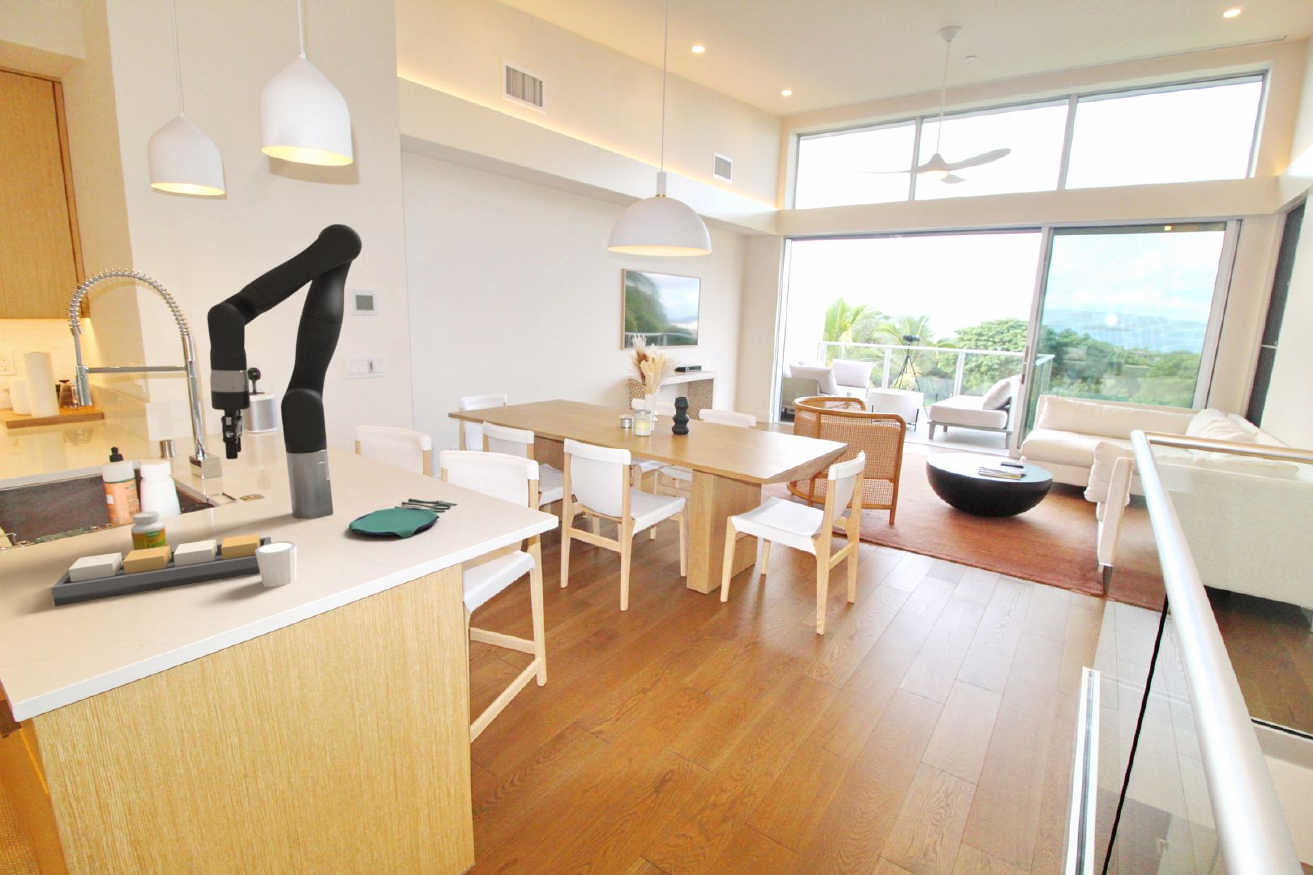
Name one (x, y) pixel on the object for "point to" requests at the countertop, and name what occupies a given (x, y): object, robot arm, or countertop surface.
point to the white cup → (277, 563)
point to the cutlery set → (399, 519)
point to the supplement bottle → (148, 531)
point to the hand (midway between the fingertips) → (234, 455)
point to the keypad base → (154, 578)
